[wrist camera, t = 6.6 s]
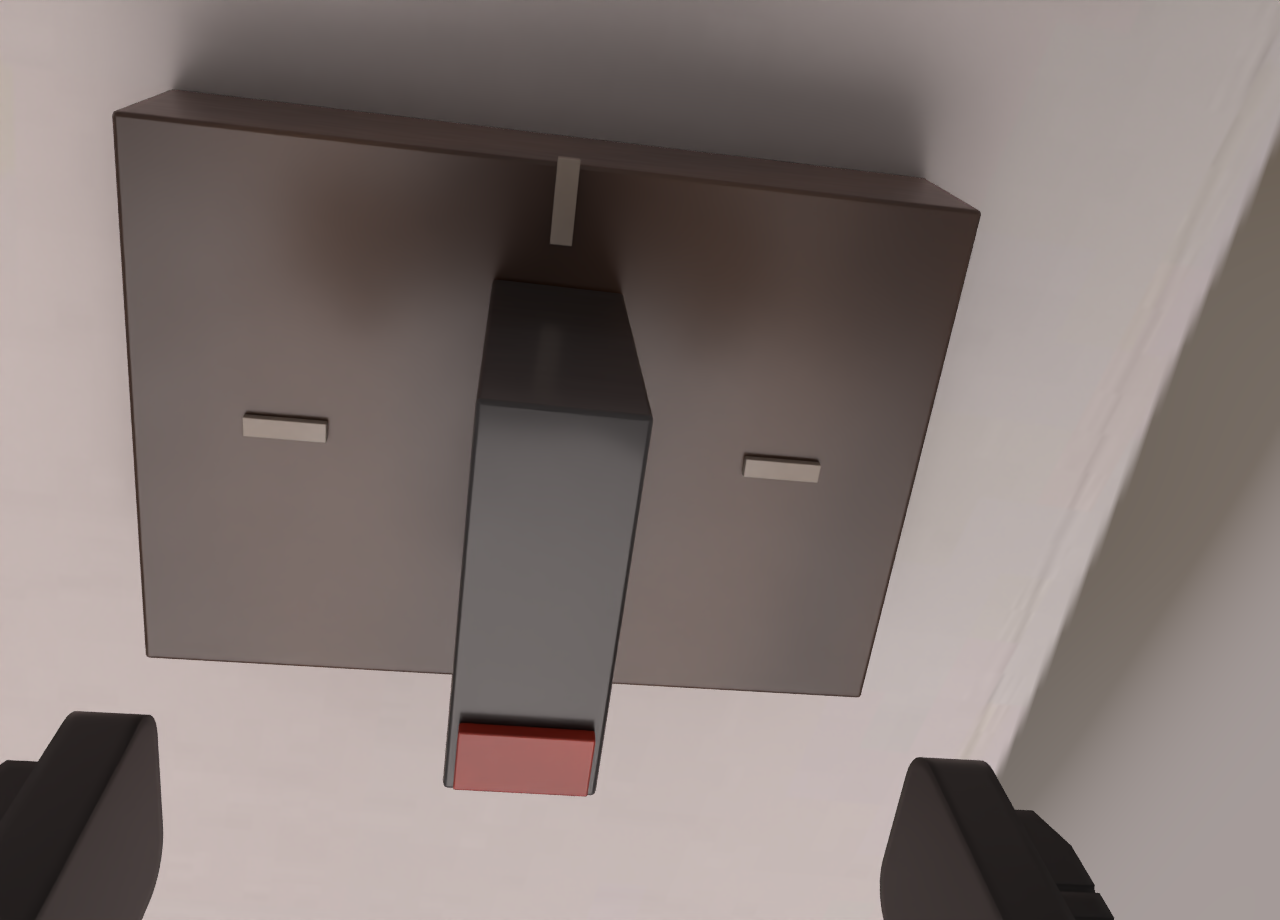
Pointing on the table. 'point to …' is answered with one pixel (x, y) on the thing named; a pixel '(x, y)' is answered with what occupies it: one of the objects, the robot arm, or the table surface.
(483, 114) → the table surface
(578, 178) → the panel
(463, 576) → the lock knob
